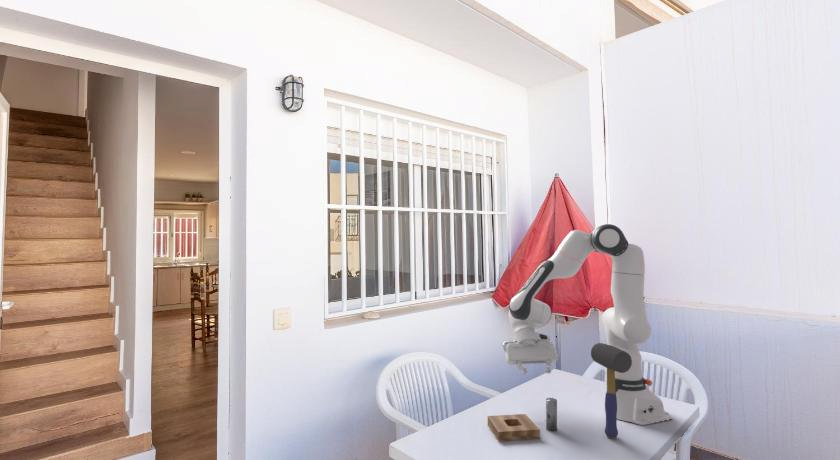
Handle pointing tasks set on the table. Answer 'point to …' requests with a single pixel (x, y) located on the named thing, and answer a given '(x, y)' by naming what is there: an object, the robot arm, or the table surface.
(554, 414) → the pin
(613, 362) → the rubber mallet
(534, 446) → the table surface
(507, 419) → the hole plate
